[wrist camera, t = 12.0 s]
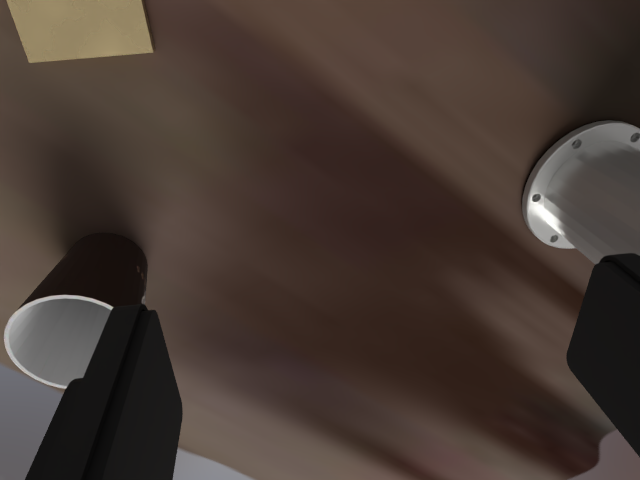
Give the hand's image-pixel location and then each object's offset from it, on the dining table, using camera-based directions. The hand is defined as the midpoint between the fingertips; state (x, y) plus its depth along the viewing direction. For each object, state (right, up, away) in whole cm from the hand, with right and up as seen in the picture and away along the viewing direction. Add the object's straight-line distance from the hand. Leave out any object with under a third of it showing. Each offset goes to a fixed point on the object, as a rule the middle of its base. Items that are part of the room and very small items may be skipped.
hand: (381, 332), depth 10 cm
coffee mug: (-21, -1, +31) cm, 37 cm away
